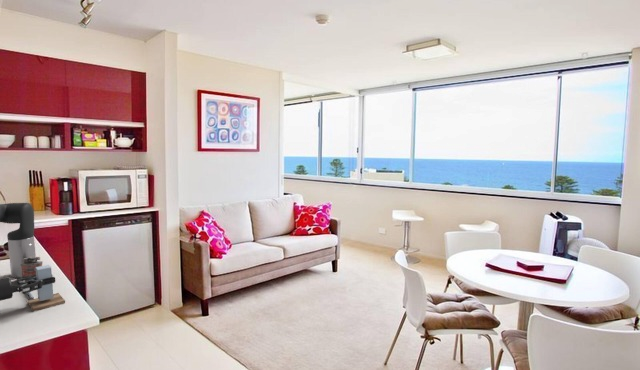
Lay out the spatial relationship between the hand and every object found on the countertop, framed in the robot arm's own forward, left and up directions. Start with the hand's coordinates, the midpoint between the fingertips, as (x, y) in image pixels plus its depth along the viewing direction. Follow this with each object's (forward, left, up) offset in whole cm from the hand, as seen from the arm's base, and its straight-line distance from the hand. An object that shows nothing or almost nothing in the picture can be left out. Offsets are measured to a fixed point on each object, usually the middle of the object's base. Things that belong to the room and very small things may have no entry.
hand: (53, 278), depth 136 cm
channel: (-14, -3, -9) cm, 17 cm away
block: (0, -3, -7) cm, 8 cm away
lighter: (-34, -1, -9) cm, 35 cm away
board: (0, -3, -9) cm, 9 cm away
